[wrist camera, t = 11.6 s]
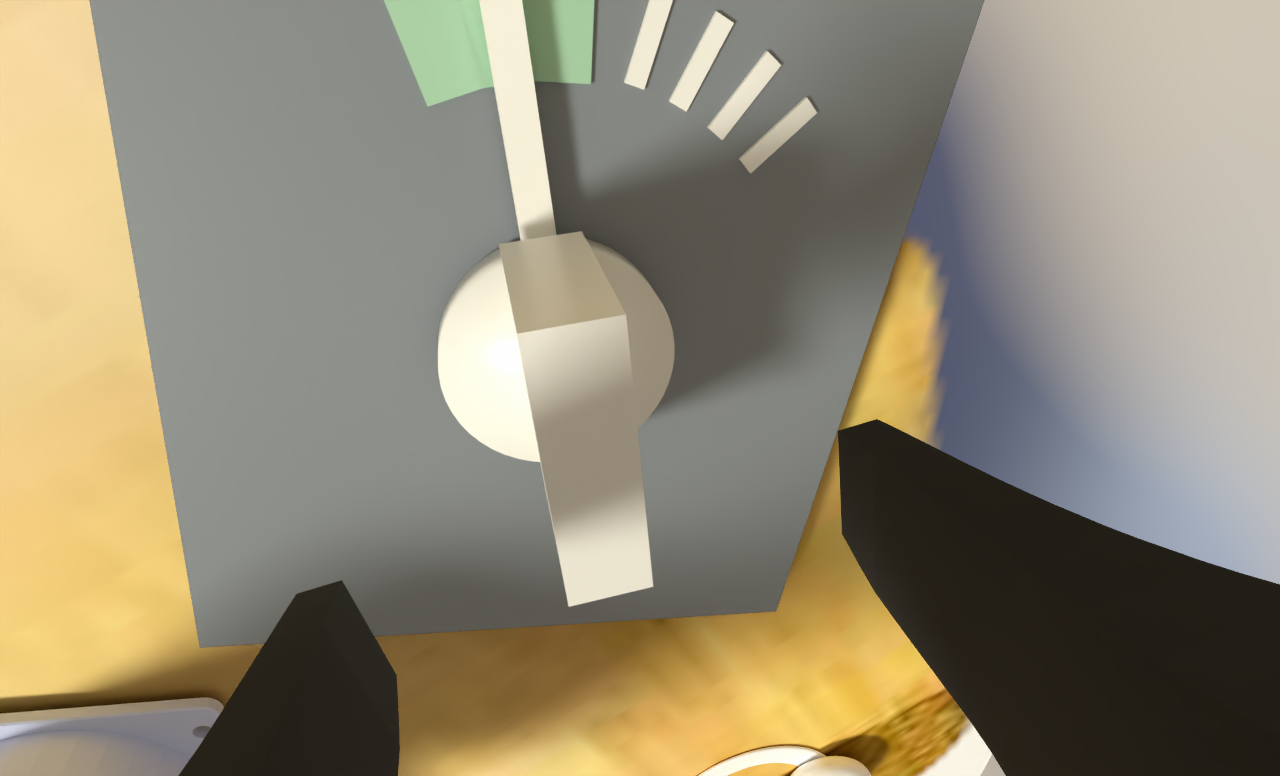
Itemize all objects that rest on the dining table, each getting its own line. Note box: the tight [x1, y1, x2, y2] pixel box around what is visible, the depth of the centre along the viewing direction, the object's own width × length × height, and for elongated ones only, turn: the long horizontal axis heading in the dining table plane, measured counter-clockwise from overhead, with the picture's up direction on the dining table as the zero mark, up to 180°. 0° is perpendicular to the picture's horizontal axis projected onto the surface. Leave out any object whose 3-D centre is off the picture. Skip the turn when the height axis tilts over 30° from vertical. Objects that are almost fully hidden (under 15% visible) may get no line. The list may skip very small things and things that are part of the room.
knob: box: [438, 0, 675, 607], centre depth 13 cm, size 11×5×5 cm, turn 5°
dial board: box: [89, 0, 984, 648], centre depth 17 cm, size 18×16×1 cm
